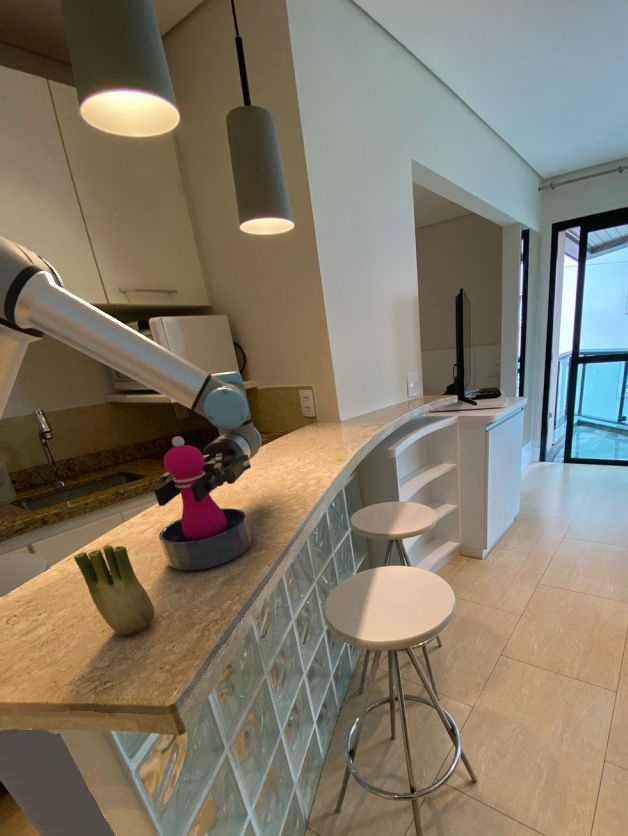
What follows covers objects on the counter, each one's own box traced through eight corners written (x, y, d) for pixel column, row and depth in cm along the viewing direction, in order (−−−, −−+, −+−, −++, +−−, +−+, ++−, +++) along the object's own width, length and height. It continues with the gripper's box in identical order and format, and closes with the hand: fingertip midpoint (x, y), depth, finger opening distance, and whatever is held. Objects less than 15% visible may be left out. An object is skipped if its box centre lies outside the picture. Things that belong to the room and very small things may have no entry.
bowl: (151, 565, 70) (141, 537, 68) (215, 530, 81) (208, 505, 79) (207, 579, 64) (197, 548, 62) (268, 539, 75) (261, 512, 73)
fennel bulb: (102, 636, 53) (64, 556, 48) (134, 613, 57) (102, 537, 53) (136, 642, 51) (100, 559, 46) (166, 617, 55) (135, 539, 51)
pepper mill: (209, 537, 77) (175, 432, 69) (241, 538, 74) (210, 430, 67) (181, 556, 71) (140, 443, 63) (215, 558, 68) (177, 441, 60)
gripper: (273, 468, 85) (241, 511, 64) (188, 477, 86) (128, 524, 64) (265, 432, 83) (228, 465, 61) (177, 443, 83) (110, 479, 61)
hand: (177, 495), depth 63 cm, fingers closed on pepper mill, 5 cm apart
